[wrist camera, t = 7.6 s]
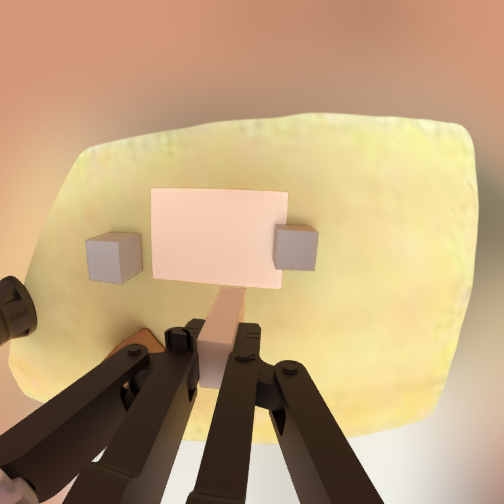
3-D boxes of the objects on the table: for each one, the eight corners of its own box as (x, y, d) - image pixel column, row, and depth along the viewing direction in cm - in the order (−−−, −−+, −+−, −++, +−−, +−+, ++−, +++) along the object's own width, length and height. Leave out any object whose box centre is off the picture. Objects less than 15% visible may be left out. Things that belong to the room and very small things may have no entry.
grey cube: (272, 259, 39) (275, 269, 34) (274, 224, 38) (278, 229, 33) (306, 260, 39) (314, 270, 35) (309, 226, 38) (318, 231, 33)
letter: (153, 277, 42) (153, 277, 42) (152, 188, 39) (151, 188, 38) (281, 288, 41) (281, 289, 40) (288, 192, 37) (288, 192, 37)
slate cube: (112, 266, 42) (89, 279, 36) (110, 231, 41) (85, 240, 34) (142, 270, 42) (121, 284, 35) (141, 233, 41) (118, 242, 34)
